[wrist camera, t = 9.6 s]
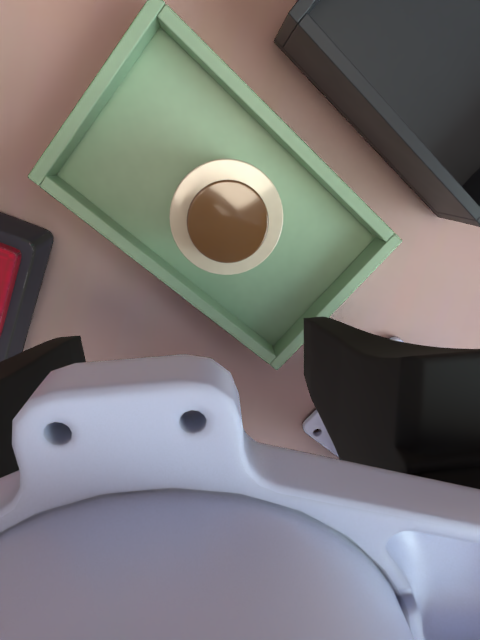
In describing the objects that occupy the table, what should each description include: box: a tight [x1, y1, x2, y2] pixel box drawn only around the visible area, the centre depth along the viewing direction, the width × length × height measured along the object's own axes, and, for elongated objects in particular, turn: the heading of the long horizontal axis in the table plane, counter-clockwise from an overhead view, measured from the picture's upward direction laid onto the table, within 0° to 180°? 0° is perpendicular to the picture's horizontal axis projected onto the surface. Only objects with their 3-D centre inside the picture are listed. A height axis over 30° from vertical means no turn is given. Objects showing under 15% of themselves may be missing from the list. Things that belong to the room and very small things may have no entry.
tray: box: [28, 0, 402, 370], centre depth 21 cm, size 15×9×2 cm, turn 49°
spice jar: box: [169, 159, 283, 275], centre depth 18 cm, size 4×4×6 cm
